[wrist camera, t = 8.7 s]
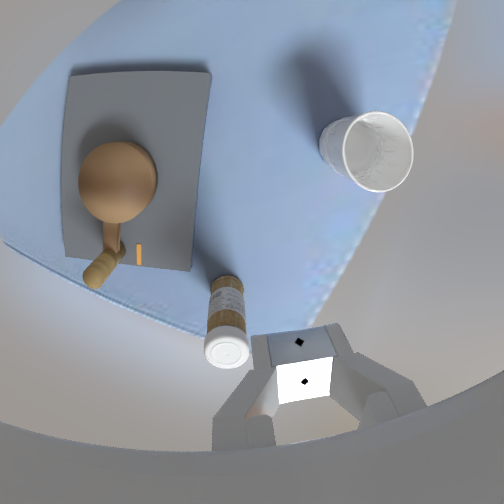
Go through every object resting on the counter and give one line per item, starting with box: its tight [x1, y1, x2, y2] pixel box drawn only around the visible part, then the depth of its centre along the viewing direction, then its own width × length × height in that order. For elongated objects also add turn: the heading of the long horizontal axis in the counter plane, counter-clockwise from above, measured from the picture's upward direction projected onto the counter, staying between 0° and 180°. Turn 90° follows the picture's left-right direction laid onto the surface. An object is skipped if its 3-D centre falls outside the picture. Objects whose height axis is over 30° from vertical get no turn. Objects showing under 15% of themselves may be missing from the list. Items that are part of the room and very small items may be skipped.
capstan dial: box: [78, 141, 158, 289], centre depth 29 cm, size 15×9×8 cm, turn 168°
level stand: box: [61, 71, 212, 272], centre depth 33 cm, size 24×18×2 cm
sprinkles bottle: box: [204, 275, 249, 369], centre depth 34 cm, size 5×5×13 cm
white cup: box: [319, 111, 413, 192], centre depth 30 cm, size 8×8×10 cm
